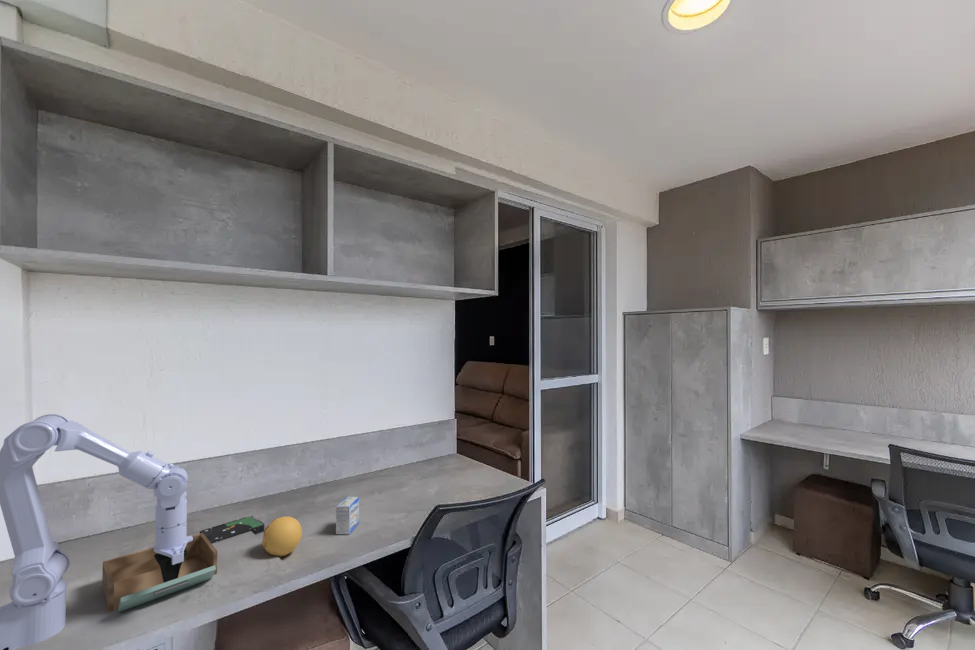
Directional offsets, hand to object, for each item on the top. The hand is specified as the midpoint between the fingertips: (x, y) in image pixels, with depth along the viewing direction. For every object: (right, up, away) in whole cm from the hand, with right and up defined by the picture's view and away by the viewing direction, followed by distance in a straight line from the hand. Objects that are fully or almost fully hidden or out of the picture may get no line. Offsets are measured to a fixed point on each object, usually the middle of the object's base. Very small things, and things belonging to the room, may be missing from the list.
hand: (170, 583), depth 94 cm
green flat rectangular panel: (-2, -3, +1) cm, 4 cm away
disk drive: (-6, -6, +33) cm, 34 cm away
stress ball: (+15, -5, +21) cm, 27 cm away
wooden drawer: (-8, -5, +7) cm, 11 cm away
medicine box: (+28, -6, +37) cm, 46 cm away
